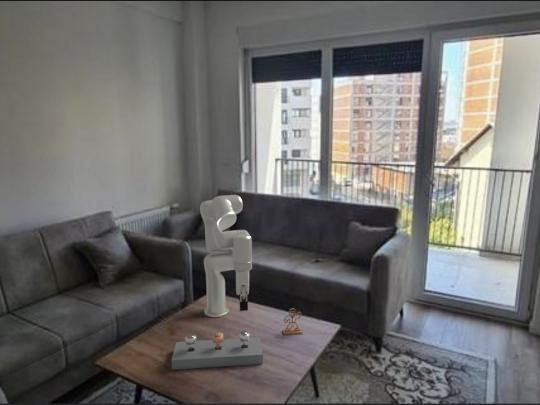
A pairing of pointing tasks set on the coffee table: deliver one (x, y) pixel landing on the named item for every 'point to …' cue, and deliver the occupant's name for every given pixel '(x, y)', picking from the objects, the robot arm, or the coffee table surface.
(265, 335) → the coffee table surface
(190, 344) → the knob
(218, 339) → the knob middle
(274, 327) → the coffee table surface
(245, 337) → the knob
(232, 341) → the knob panel
